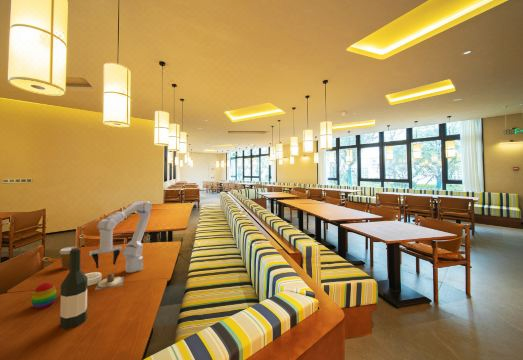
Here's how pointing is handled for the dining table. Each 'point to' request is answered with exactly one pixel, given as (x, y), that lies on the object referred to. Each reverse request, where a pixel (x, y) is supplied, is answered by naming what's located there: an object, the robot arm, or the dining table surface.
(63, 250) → the disposable coffee cup
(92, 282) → the bowl
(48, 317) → the dining table surface
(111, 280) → the lid
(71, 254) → the wine bottle
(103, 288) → the mat
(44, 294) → the decorative egg
